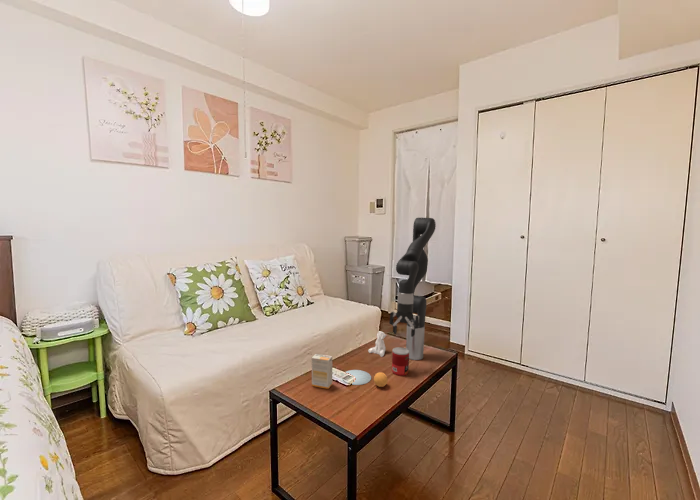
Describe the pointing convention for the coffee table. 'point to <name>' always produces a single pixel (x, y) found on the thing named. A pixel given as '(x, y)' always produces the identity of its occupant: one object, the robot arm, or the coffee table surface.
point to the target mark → (360, 377)
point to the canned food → (400, 361)
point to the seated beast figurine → (379, 344)
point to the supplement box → (322, 371)
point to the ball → (380, 379)
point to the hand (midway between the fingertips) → (403, 334)
